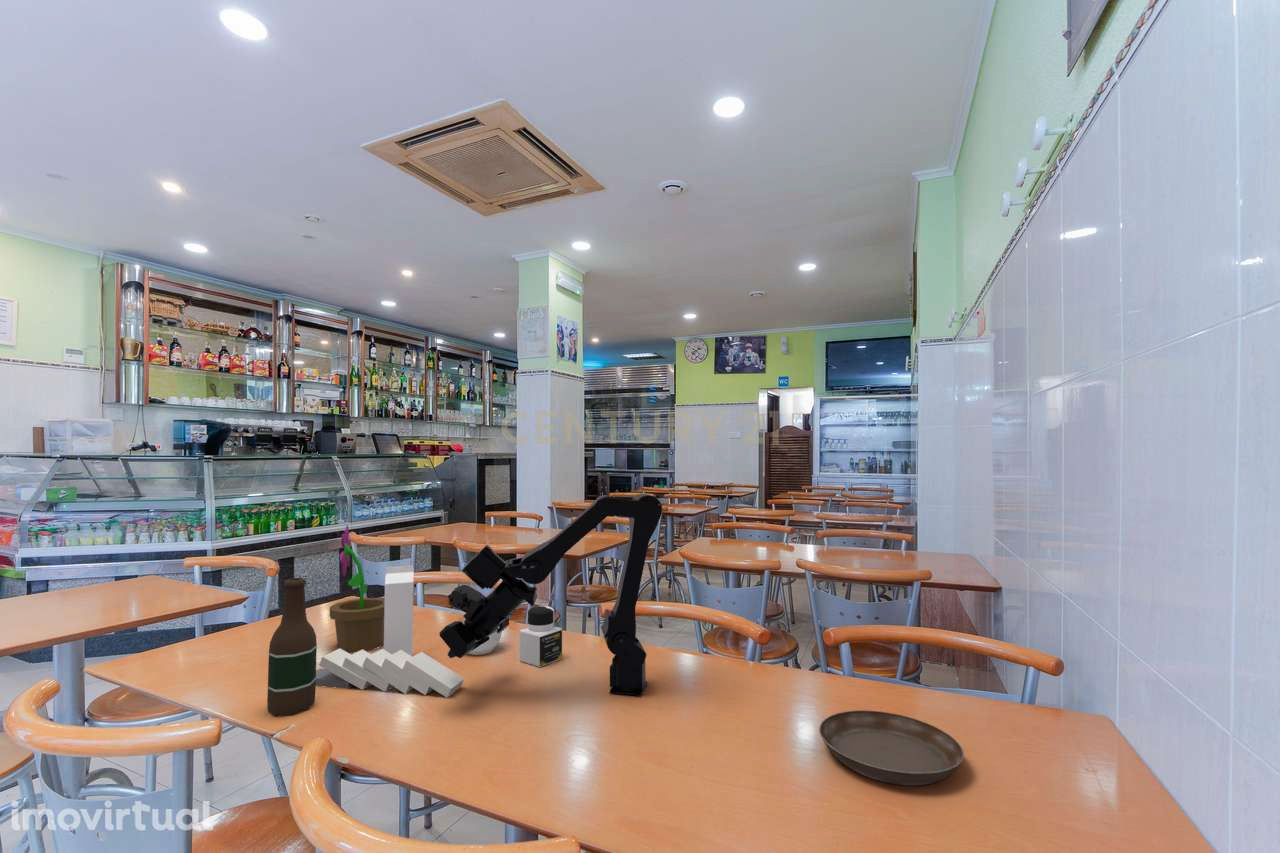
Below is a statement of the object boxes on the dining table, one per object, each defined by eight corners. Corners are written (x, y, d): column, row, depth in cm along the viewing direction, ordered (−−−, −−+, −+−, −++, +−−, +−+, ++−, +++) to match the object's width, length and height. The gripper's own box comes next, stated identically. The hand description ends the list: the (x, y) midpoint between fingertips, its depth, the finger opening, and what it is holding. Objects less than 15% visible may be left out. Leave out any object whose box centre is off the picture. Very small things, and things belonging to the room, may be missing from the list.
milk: (384, 661, 134) (386, 564, 135) (412, 658, 136) (414, 563, 137) (383, 670, 128) (384, 569, 130) (412, 666, 130) (413, 567, 132)
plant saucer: (846, 716, 105) (846, 697, 105) (976, 753, 92) (975, 732, 92) (798, 763, 89) (797, 741, 89) (947, 816, 76) (946, 790, 76)
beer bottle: (293, 719, 104) (296, 584, 106) (256, 715, 106) (260, 582, 107) (324, 701, 112) (327, 575, 113) (290, 698, 114) (293, 574, 115)
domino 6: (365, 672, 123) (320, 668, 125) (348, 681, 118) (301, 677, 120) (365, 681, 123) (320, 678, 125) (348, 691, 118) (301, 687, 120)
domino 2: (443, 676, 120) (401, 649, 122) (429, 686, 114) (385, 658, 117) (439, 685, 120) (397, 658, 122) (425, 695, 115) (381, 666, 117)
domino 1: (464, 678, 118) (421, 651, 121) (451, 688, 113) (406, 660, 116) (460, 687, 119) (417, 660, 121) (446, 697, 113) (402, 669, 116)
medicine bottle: (540, 668, 129) (540, 613, 130) (518, 661, 134) (518, 608, 134) (562, 659, 135) (562, 606, 136) (541, 652, 139) (541, 602, 140)
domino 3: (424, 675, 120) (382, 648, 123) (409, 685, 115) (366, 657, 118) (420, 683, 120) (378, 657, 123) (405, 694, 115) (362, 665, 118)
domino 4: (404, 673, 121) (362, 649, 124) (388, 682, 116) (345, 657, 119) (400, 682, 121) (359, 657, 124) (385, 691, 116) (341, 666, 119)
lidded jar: (454, 647, 144) (454, 609, 144) (497, 641, 148) (498, 604, 149) (460, 661, 134) (460, 620, 134) (506, 654, 138) (507, 614, 139)
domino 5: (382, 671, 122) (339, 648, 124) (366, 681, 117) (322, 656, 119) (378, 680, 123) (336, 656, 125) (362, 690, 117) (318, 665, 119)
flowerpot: (334, 640, 149) (337, 523, 151) (394, 635, 154) (396, 521, 155) (322, 658, 136) (325, 529, 137) (388, 652, 140) (390, 527, 142)
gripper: (496, 564, 125) (449, 613, 127) (449, 582, 107) (396, 639, 109) (530, 603, 123) (482, 652, 125) (488, 628, 105) (432, 686, 107)
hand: (449, 656), depth 117 cm, fingers closed
